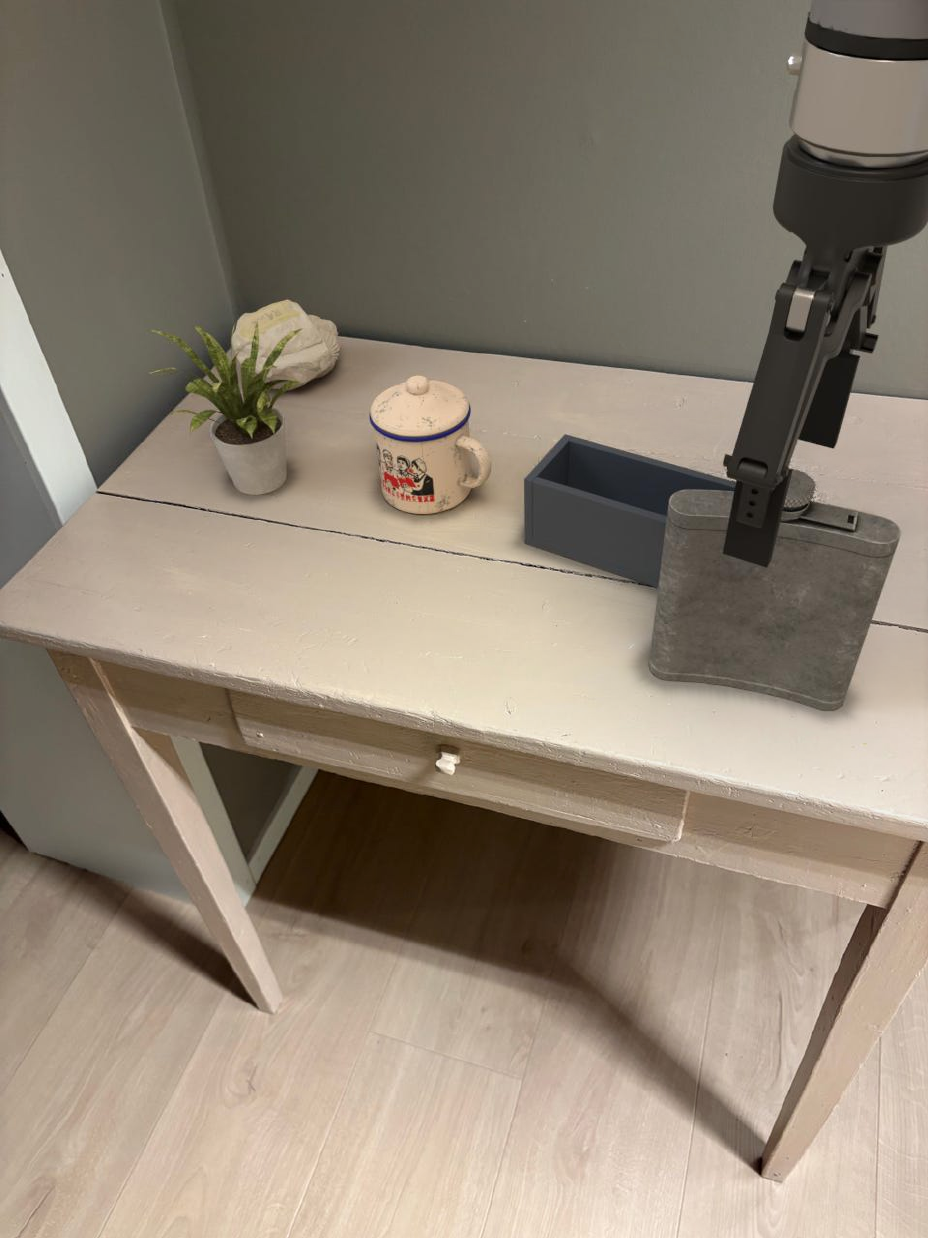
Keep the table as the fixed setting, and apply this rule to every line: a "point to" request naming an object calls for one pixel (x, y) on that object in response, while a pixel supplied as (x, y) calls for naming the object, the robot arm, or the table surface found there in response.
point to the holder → (606, 506)
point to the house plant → (242, 414)
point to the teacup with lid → (425, 446)
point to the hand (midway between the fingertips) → (783, 495)
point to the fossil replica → (301, 354)
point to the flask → (770, 597)
